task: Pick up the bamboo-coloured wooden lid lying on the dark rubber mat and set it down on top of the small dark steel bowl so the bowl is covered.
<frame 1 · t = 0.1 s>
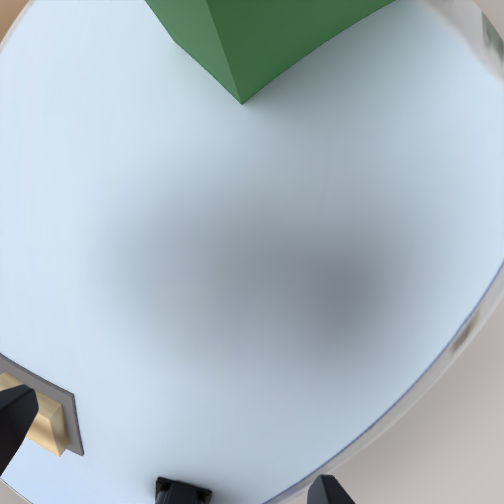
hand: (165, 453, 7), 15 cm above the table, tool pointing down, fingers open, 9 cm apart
mat: (37, 406, 26), on the table
lid: (35, 408, 25), resting on mat
hardback book: (299, 5, 17), on the table
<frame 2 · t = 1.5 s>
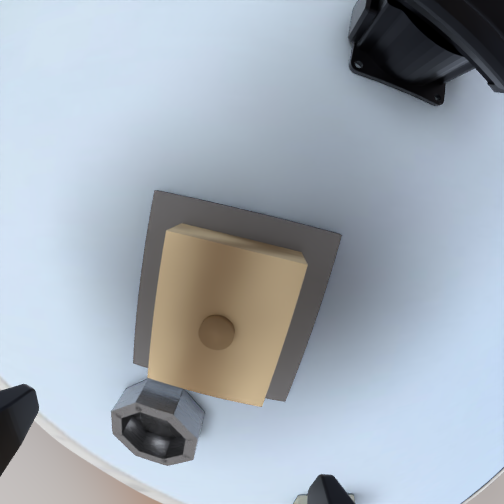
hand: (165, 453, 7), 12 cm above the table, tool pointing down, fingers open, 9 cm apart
bowl: (163, 412, 21), on the table
skincare box: (319, 502, 24), on the table
mat: (225, 306, 19), on the table
lid: (224, 309, 18), resting on mat
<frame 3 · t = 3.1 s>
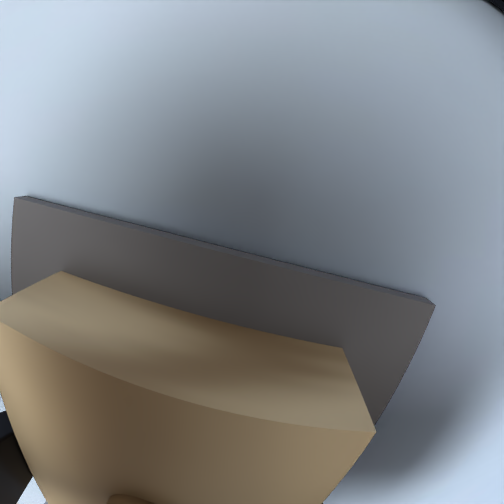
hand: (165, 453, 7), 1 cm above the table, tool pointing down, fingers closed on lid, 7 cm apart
mat: (173, 430, 8), on the table
lid: (169, 441, 8), resting on mat, touching gripper
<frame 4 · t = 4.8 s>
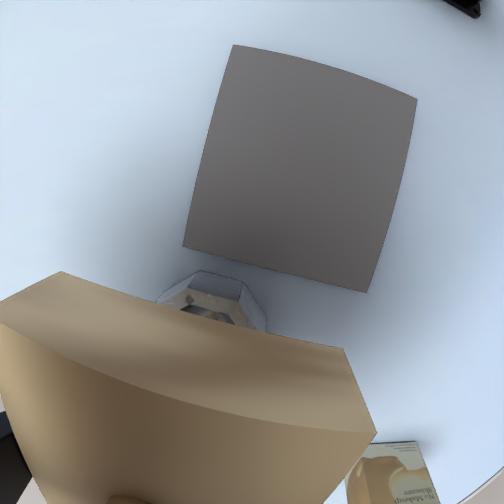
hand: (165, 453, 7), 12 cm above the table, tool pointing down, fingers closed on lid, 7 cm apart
bowl: (210, 323, 19), on the table
skincare box: (377, 455, 22), on the table
mat: (304, 165, 16), on the table
lid: (169, 442, 8), point 11 cm above the table, touching gripper
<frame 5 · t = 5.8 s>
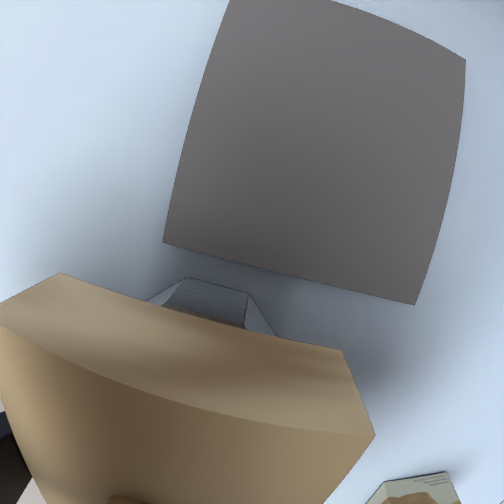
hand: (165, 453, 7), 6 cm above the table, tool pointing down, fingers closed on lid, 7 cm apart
bowl: (203, 349, 13), on the table
skincare box: (403, 489, 16), on the table
mat: (334, 129, 11), on the table
lid: (169, 443, 8), point 6 cm above the table, touching gripper
when the fingers open (4 cm above the table, at t = 6.7 s): lid stays where it is, resting on bowl.
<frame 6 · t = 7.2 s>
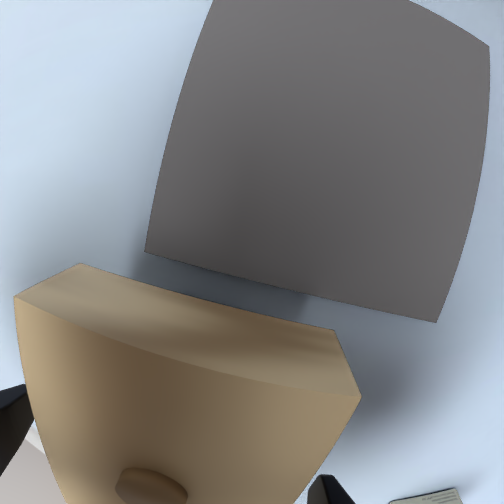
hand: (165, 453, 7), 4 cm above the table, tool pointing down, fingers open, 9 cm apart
mat: (348, 118, 9), on the table
lid: (177, 422, 8), point 3 cm above the table, touching bowl
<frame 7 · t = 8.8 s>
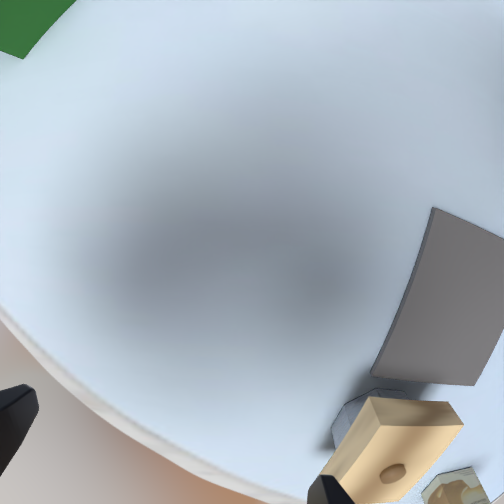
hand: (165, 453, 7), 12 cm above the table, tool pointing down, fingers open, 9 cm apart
bowl: (372, 419, 21), on the table
skincare box: (445, 479, 23), on the table
mat: (461, 310, 18), on the table
lid: (382, 445, 18), point 3 cm above the table, touching bowl
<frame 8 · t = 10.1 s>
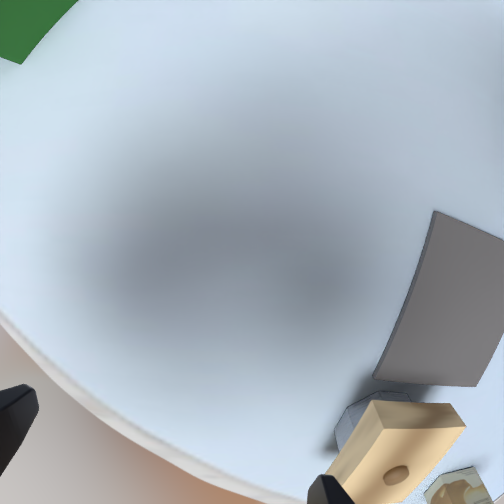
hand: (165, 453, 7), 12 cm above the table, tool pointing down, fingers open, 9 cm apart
bowl: (375, 422, 20), on the table
skincare box: (448, 479, 23), on the table
mat: (462, 313, 18), on the table
lid: (385, 447, 18), point 3 cm above the table, touching bowl
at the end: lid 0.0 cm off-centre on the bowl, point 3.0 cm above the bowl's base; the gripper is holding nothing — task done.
